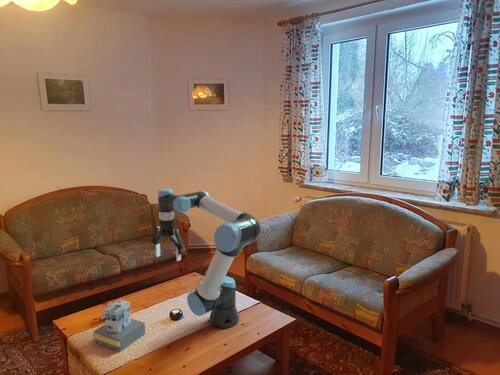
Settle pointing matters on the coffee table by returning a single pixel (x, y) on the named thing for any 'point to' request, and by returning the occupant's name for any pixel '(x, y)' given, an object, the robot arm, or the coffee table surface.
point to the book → (120, 335)
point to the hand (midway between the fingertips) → (168, 258)
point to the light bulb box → (118, 316)
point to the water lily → (104, 311)
